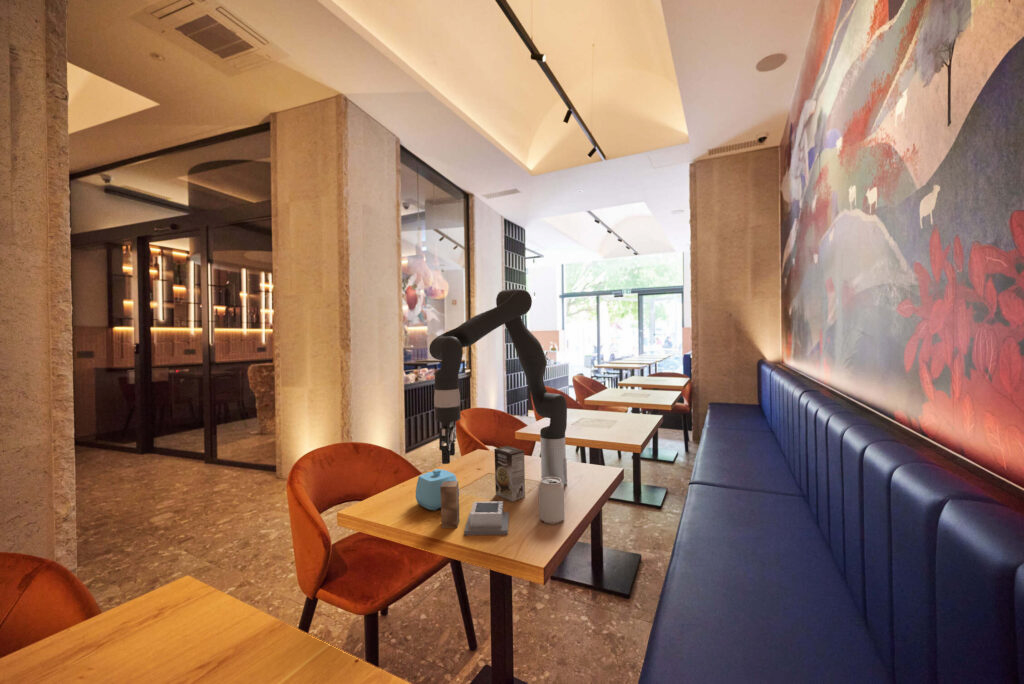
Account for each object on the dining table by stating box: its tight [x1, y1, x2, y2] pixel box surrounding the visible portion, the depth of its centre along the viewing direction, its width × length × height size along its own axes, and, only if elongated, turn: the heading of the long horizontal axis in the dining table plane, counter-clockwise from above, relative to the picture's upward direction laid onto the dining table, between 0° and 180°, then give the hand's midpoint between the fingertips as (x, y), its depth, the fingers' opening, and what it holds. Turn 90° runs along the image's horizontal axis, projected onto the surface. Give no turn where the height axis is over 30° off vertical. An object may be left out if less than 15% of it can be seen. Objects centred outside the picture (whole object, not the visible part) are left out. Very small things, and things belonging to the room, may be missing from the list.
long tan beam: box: [440, 480, 460, 529], centre depth 121 cm, size 4×4×12 cm
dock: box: [463, 500, 510, 536], centre depth 120 cm, size 12×12×5 cm
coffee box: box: [493, 445, 526, 502], centre depth 142 cm, size 9×6×16 cm
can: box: [538, 477, 566, 525], centre depth 123 cm, size 8×8×12 cm
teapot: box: [415, 468, 460, 511], centre depth 135 cm, size 12×18×12 cm
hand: (448, 459), depth 121 cm, fingers open, 8 cm apart
